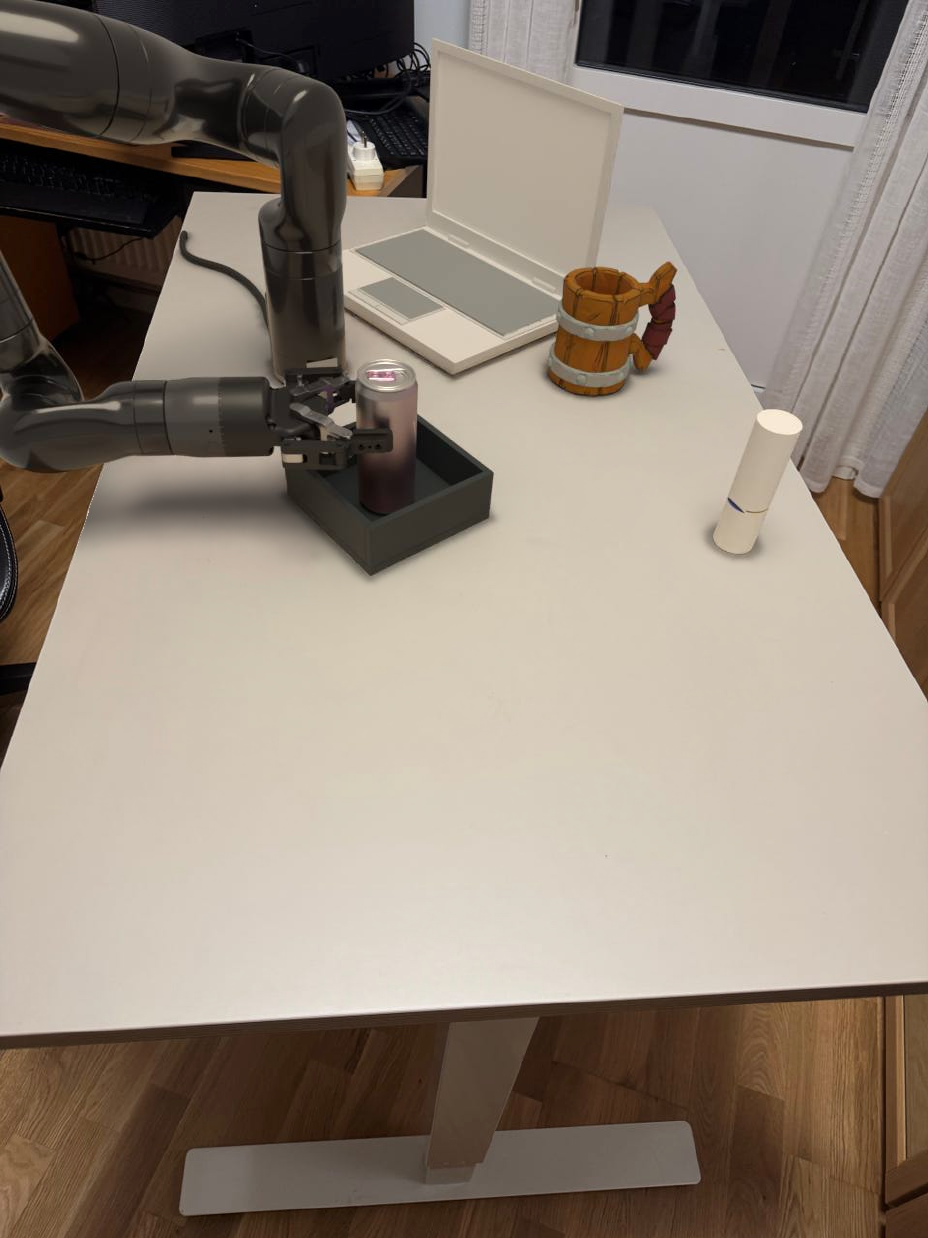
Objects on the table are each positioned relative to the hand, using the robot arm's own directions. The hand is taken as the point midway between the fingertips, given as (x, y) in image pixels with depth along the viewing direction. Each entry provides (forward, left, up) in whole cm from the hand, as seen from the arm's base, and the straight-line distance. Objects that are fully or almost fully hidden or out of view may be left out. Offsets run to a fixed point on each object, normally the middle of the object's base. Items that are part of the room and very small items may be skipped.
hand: (390, 414), depth 83 cm
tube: (+26, +27, -12) cm, 39 cm away
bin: (0, 0, -11) cm, 11 cm away
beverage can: (0, 0, -11) cm, 11 cm away
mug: (-6, +40, -12) cm, 42 cm away
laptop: (-34, +34, -12) cm, 49 cm away
